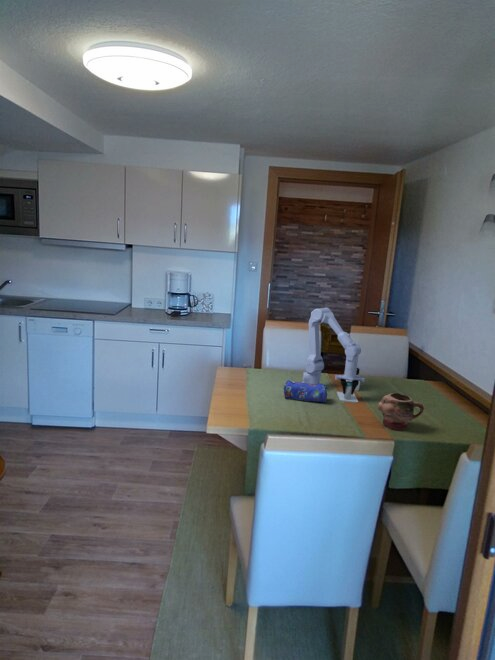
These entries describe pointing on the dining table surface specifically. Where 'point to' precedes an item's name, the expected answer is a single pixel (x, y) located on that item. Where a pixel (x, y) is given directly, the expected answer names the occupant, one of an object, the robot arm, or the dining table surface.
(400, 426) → the brown sculpted mug
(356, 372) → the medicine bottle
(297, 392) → the pencil case
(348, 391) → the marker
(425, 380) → the dining table surface
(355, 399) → the note pad
